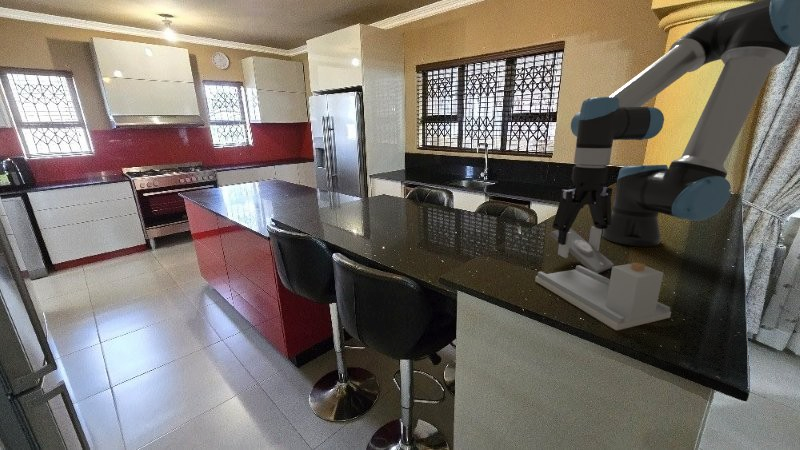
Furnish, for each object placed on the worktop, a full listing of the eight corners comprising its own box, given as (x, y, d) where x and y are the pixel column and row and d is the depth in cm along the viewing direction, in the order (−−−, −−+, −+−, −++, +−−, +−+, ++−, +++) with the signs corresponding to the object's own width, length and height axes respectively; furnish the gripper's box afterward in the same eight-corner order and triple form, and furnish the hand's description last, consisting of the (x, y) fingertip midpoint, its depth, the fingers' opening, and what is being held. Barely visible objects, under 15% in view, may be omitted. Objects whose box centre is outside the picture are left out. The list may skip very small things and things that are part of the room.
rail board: (580, 273, 82) (585, 232, 79) (670, 317, 63) (682, 265, 60) (535, 281, 78) (539, 238, 75) (616, 330, 59) (626, 276, 56)
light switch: (599, 269, 79) (553, 228, 88) (584, 285, 83) (541, 245, 92) (617, 262, 84) (571, 224, 93) (602, 277, 88) (559, 240, 96)
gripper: (611, 162, 88) (598, 244, 94) (542, 166, 82) (533, 253, 88) (639, 165, 81) (623, 253, 87) (565, 169, 75) (554, 264, 81)
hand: (578, 253), depth 87 cm, fingers closed on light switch, 9 cm apart
